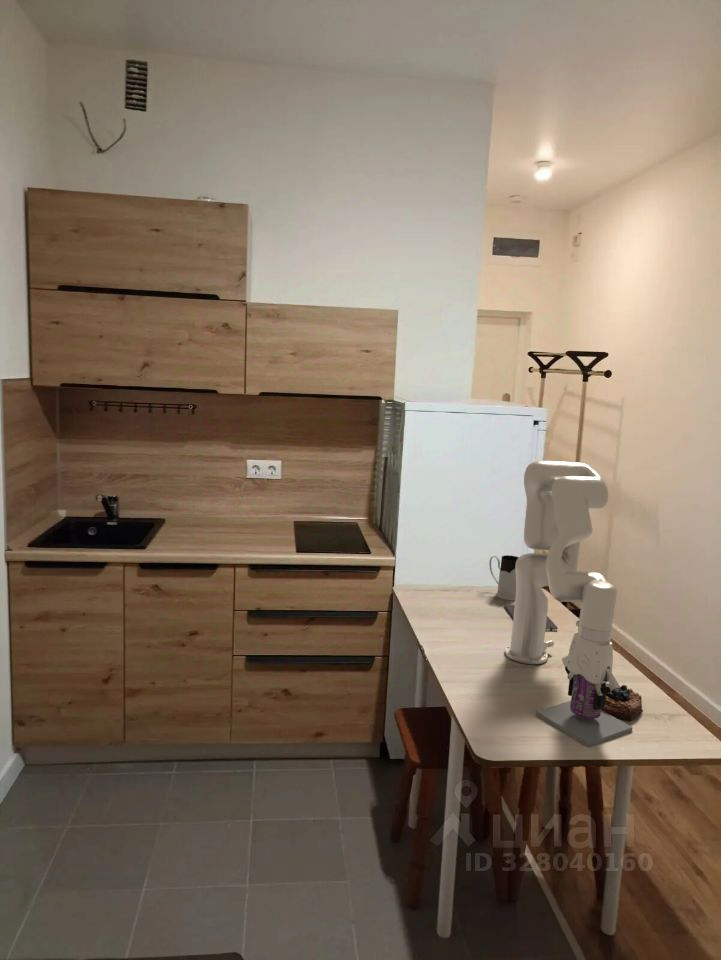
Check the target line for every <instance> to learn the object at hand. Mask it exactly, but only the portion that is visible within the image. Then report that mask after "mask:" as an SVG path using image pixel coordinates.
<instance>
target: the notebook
mask: <svg viewBox="0 0 721 960" xmlns="http://www.w3.org/2000/svg"><path fill="white" fill-rule="evenodd" d="M503 608H504V609H505V611H506V612H507V613H508V614H509V616H510V617H511V619H512V620H513V618H514V609H515V604H503ZM558 629H559V627H558V626H557V624H555V623H554V622H553V621H552V620H551V618H550V617H549V616H548V615H547V620H546V629H545V632H547V631H548V632H558Z"/></svg>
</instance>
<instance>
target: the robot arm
mask: <svg viewBox="0 0 721 960" xmlns="http://www.w3.org/2000/svg"><path fill="white" fill-rule="evenodd" d="M523 485H524V490H525V496H526V508H525V518H524V519H525V520H524V529H523V541H524V544H525V546H526V547H528V548H529V549H532V550H538V551H539V550H540V551H548V552H547V553H543V552H541V553H540V552H539V553H537V552H535V553H534V552H533V553H532V552H528V553H524V554H522V555H520V556H518V557H519V558H518V559H517V561H516V566H515V571H516V598H515V600H514V601H515V602H514V605H515V609H514V618H513V619H512V629H511V637H510V638H511V639H510V644H509V645H506V646H505V648H504V655H505V656H506V657H508V658H509V659H511V660H512V661H515V662H517V663H521V664H526V665H540V664H544V663H546V662H547V661H548V657H549V655H548V653H547V652H546V650H547V649H548V648H553V647H554V646H555V643H554V641H553V640H552V639H551V640H546V641H545V639H546V638H545V635H546V631H545V629H546V620H547V616H548V610H549V599H548V596H546V595H547V594H545V592H544V591H543V587H548V589H549V592H550V595H551V596H552V598H553V599H555V600H557V601H558V602H562V603H563V602H567V603H581V604H580V610H579V611H580V613H579V618H578V620H576V622H575V626H577V631H575V632H574V635H573V636H572V638H571V642H570V645H569V651H568V655H566V656H564V657H562V658H561V661H562V664H563V666H564V669H565V672H566V674H567V679H568V689H567V691H568V692H567V696H568V697H569V696H570V697H572V689H573V681H574V674H575V675H577V674H581V675H583V676H584V678H585V679H586V680H587V681H588V682H590V683H592V684H594V685H595V686H596V690H597V694H595V697H594V705H593V709H594V710H595V711H596V710H599V709H602V708H604V706H605V699H606V694H608V693H610V692H612V691H613V690H615V689H616V688H617V687H619V686H620V685H619V683H618V681H617V679H616V678H615V676H614V674H613V664H614V663H613V661H614V654H613V653H614V652H613V650H614V649H613V643H612V641H611V638H612V632H613V631H612V630H613V623H614V618H615V617H614V615H615V608H616V601H617V600H616V599H617V592H618V591H617V588H616V587H615V585H614V584H612V583H611V582H608V579H607V578H606V577H605V575H603V574H602V573H600V572H598V571H597V572H596V571H582V570H581V571H578V562H579V554H580V546H581V545H580V544H581V542H583V541H584V540H586V539H587V538H589V537H591V535H592V534H593V532H594V531H593V526H592V520H591V515H590V514H591V513H590V510H589V509H601V508H604V507H605V506H606V505H607V503H608V501H609V491H608V490H609V489H608V486H607V483H606V482H605V480H604V479H603V477H602V476H601V475H599V474H598V473H597V471H595V470H594V469H593V468H592V467H590V465H588V464H587V463H583V462H576V461H575V462H574V461H571V462H570V461H561V460H560V461H557V460H537V461H533V462H531V463H529V464H528V465H527V466H526V468H525V472H524V475H523ZM601 684H603V685H602V688H603V689H602V688H601ZM607 684H609V686H607Z"/></svg>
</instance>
